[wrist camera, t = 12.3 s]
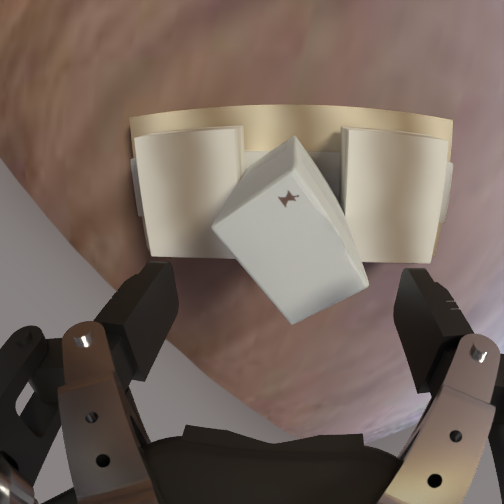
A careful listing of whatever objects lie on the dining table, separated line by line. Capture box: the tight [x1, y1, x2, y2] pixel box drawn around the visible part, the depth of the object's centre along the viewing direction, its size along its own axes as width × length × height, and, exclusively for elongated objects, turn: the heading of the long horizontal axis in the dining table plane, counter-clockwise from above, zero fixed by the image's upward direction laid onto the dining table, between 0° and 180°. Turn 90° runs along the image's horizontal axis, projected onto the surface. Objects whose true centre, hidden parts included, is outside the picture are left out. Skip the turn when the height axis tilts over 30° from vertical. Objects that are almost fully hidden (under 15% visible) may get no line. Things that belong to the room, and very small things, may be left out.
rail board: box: [130, 105, 453, 263], centre depth 22 cm, size 26×12×6 cm, turn 92°
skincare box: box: [211, 136, 369, 325], centre depth 18 cm, size 6×4×12 cm
